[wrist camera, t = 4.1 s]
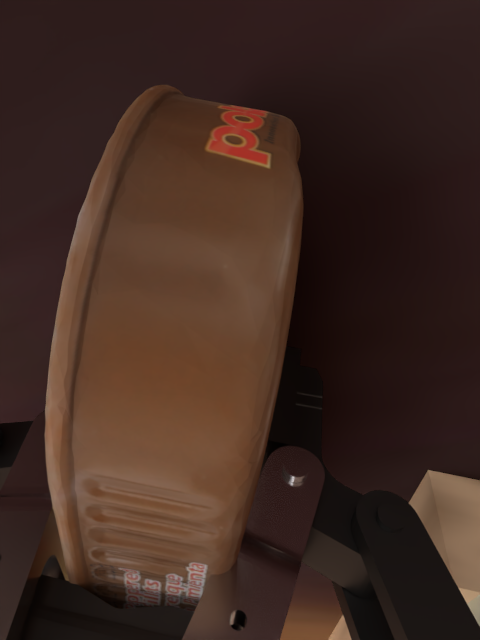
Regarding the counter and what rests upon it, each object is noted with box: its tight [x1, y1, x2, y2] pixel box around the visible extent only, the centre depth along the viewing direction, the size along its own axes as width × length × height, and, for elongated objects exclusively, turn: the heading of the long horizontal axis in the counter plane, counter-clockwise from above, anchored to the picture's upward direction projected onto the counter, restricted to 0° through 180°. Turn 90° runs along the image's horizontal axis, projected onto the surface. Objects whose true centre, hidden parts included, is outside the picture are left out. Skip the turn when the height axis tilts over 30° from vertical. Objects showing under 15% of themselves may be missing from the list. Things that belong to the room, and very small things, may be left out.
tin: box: [44, 85, 304, 612], centre depth 10 cm, size 15×3×8 cm, turn 171°
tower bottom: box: [329, 470, 480, 640], centre depth 19 cm, size 8×18×4 cm, turn 175°
